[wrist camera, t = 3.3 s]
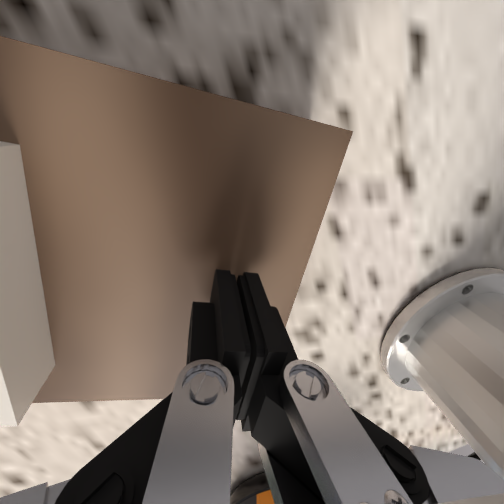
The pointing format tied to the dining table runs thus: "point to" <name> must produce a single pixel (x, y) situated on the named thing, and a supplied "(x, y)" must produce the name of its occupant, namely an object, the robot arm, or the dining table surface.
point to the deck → (153, 210)
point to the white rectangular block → (20, 296)
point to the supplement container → (253, 491)
